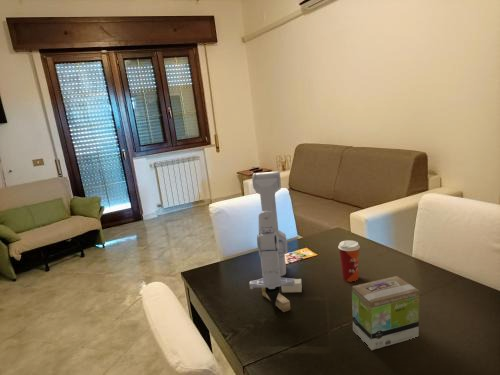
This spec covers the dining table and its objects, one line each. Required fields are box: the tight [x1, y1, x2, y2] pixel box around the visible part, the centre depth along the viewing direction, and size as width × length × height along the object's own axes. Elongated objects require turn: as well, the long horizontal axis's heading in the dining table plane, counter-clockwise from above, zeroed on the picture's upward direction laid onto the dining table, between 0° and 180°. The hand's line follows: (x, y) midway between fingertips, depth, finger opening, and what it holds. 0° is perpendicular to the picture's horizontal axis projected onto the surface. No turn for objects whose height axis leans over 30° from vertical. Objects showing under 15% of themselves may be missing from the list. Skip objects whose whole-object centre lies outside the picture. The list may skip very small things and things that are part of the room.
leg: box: [261, 287, 292, 313], centre depth 124 cm, size 15×4×3 cm, turn 27°
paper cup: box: [337, 240, 361, 283], centre depth 135 cm, size 8×8×14 cm
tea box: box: [351, 275, 420, 351], centre depth 101 cm, size 15×10×15 cm
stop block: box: [280, 278, 303, 293], centre depth 131 cm, size 3×7×4 cm, turn 81°
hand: (274, 306), depth 120 cm, fingers closed
